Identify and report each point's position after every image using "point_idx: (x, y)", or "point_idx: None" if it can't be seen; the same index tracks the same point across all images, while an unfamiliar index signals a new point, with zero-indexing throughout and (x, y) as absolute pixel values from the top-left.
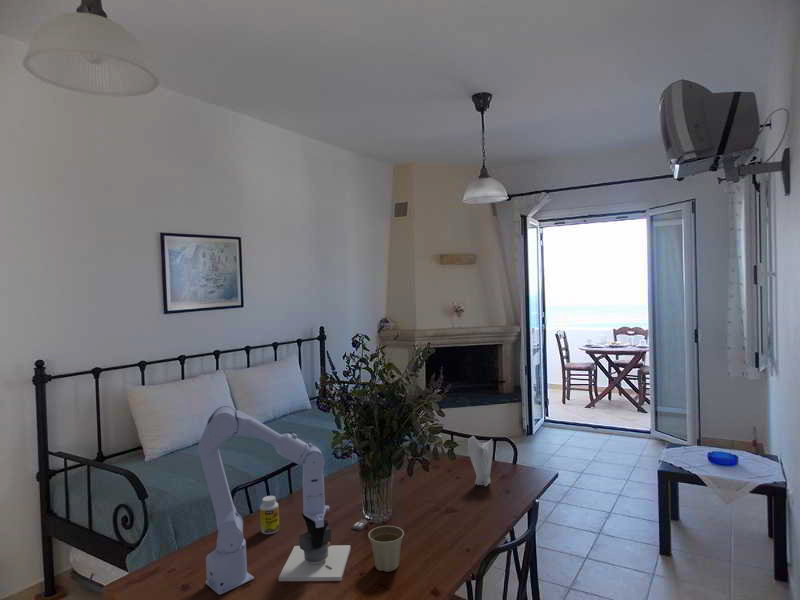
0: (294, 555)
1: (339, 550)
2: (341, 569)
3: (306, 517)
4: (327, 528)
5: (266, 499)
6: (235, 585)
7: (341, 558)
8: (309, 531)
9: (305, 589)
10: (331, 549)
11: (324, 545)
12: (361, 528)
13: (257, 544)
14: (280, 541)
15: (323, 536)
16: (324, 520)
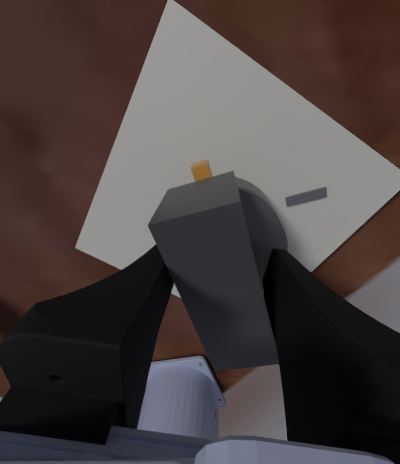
0: None
1: (195, 92)
2: (363, 154)
3: (137, 419)
4: (231, 226)
5: None
6: (214, 386)
7: (275, 115)
8: (199, 327)
9: (340, 283)
10: (164, 128)
11: (262, 223)
12: None
13: (18, 312)
14: (10, 261)
15: (326, 286)
16: (385, 395)
